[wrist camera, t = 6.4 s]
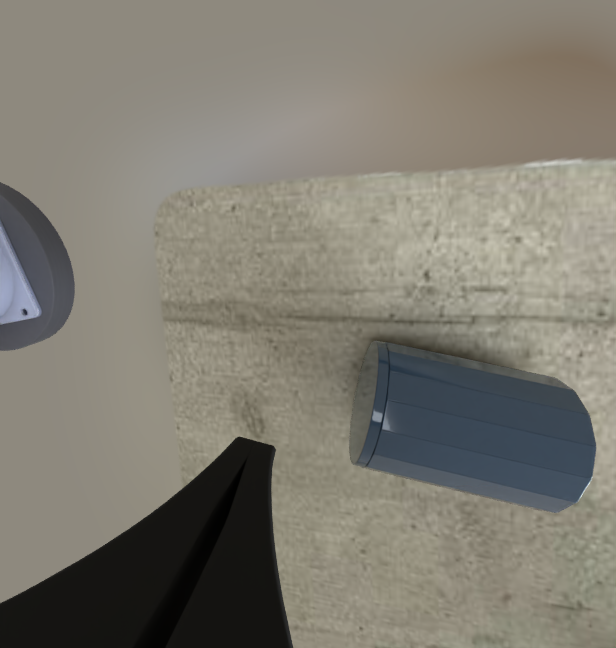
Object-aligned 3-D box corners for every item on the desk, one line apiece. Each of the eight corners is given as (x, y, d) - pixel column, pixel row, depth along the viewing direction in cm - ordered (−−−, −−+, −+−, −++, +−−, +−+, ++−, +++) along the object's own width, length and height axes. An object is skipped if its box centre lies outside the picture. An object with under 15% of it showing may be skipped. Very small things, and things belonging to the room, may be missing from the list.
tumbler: (344, 486, 15) (523, 530, 15) (377, 419, 11) (629, 477, 11) (353, 388, 20) (488, 418, 20) (378, 316, 16) (551, 351, 15)
